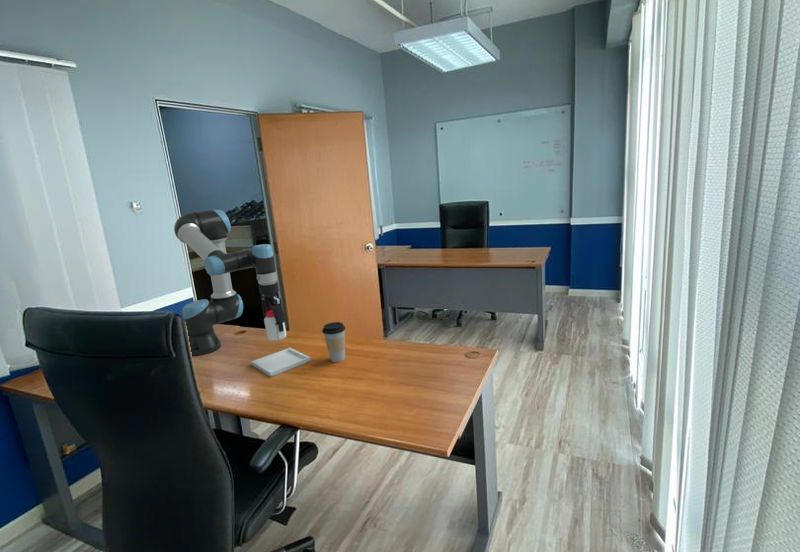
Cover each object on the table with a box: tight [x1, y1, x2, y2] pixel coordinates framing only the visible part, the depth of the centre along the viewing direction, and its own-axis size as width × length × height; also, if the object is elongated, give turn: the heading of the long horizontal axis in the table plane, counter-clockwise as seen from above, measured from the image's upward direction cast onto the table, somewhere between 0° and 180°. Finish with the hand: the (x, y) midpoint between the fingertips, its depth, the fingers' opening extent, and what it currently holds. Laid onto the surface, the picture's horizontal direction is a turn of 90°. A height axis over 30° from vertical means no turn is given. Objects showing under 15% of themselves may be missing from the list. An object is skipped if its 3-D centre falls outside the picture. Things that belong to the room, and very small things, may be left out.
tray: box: [250, 347, 312, 378], centre depth 178 cm, size 18×18×2 cm
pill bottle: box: [263, 310, 287, 341], centre depth 174 cm, size 8×8×11 cm
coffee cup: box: [322, 321, 346, 363], centre depth 175 cm, size 9×9×15 cm
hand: (277, 336), depth 175 cm, fingers closed on pill bottle, 8 cm apart
